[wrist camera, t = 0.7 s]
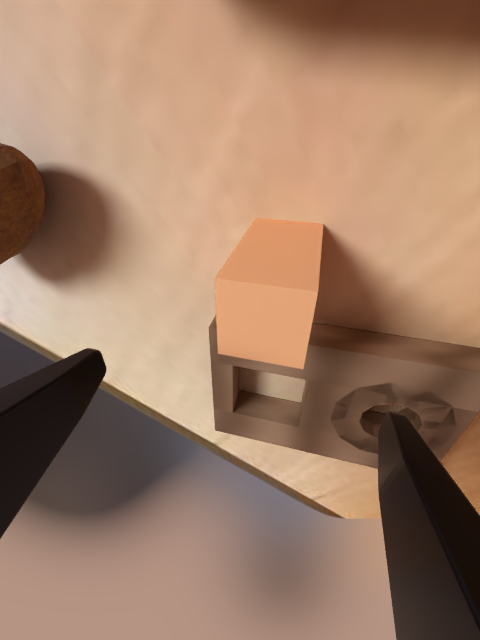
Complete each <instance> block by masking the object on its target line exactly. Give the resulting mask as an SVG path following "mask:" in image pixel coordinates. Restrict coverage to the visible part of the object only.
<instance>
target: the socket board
mask: <svg viewBox="0 0 480 640" xmlns="http://www.w3.org/2000/svg"><path fill="white" fill-rule="evenodd" d="M209 340H210V355H211V371H212V387H213V403H214V418H215V430H216V431H220V432H225V433H229V434H233V435H237V436H242V437H246V438H250V439H254V440H259V441H263V442H267V443H271V444H276V445H280V446H284V447H288V448H292V449H297V450H301V451H305V452H309V453H314V454H318V455H322V456H326V457H331V458H335V459H339V460H343V461H348V462H352V463H356V464H360V465H365V466H369V467H373V468H377V469H378V432H379V428H380V426H381V424H382V422H383V420H384V418H385V416H386V414H383V413H378V412H373V411H370V410H368V409H370V408H371V407H373V406H378V405H386V404H394V405H399V406H404V407H408V408H406V409H404V410H402V411H400V412H396V413H401V414H404V415H405V416H407V418H408V419H409V420H410V422H411V423H412V424H413V426H414V427H415V428H416V430H417V431H418V432H419V434H420V435H421V437H422V438H423V439H424V441H425V442H426V443H427V445H428V446H429V447H430V449H431V450H432V451H433V453H434V454H435V456H436V457H437V458H438V460H439V461H441V460H442V459H443V457H444V456H445V455H446V453H447V452H448V451H449V450H450V448H451V447H452V446H453V444H454V443H455V442H456V440H457V439H458V438H459V437H460V435H461V434H462V433H463V431H464V430H465V429H466V427H467V426H468V425H469V424H470V422H471V421H472V420H473V418H474V417H475V416H476V414H477V413H478V412H479V411H480V348H475V347H468V346H462V345H455V344H449V343H442V342H436V341H429V340H423V339H416V338H409V337H403V336H396V335H390V334H383V333H377V332H370V331H364V330H357V329H350V328H344V327H337V326H331V325H324V324H318V323H312V327H311V332H310V337H309V342H308V347H307V353H306V358H305V363H304V368H303V369H299V368H293V367H288V366H282V365H277V364H271V363H266V362H261V361H255V360H250V359H244V358H239V357H233V356H228V355H222V354H218V346H217V323H216V316H215V318H214V319H213V321H212V323H211V325H210V327H209ZM240 367H243V368H248V369H253V370H259V371H264V372H269V373H274V374H280V375H285V376H290V377H295V378H301V379H306V382H305V387H304V392H303V397H302V402H301V403H298V402H293V401H288V400H283V399H278V398H273V397H269V396H264V395H259V394H254V393H249V392H244V391H240Z"/></svg>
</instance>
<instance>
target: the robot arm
mask: <svg viewBox="0 0 480 640" xmlns="http://www.w3.org/2000/svg"><path fill="white" fill-rule="evenodd" d="M105 373H106V365H105V362H104V359H103V357H102V354H101V352H100V351H99V350H96V349H91V348H87V349H84V350H82V351H80V352H78V353H75V354H73V355H71V356H69V357H67V358H65V359H63V360H60V361H58V362H56V363H54V364H52V365H50V366H47V367H45V368H43V369H41V370H39V371H37V372H35V373H32V374H30V375H28V376H26V377H24V378H22V379H20V380H17V381H15V382H13V383H11V384H9V385H7V386H5V387H2V388H0V538H1V537H2V535H3V534H4V532H5V531H6V530H7V528H8V527H9V525H10V523H11V522H12V521H13V519H14V518H15V516H16V515H17V513H18V512H19V510H20V509H21V507H22V506H23V504H24V503H25V501H26V500H27V498H28V497H29V495H30V494H31V492H32V491H33V489H34V488H35V486H36V485H37V483H38V482H39V480H40V479H41V477H42V476H43V474H44V473H45V471H46V470H47V468H48V467H49V465H50V464H51V462H52V461H53V459H54V458H55V457H56V455H57V453H58V452H59V451H60V449H61V447H62V446H63V445H64V443H65V442H66V440H67V439H68V437H69V436H70V434H71V432H72V431H73V430H74V428H75V427H76V425H77V424H78V422H79V421H80V419H81V418H82V416H83V414H84V413H85V411H86V409H87V407H88V406H89V404H90V402H91V400H92V398H93V396H94V394H95V393H96V391H97V389H98V387H99V385H100V383H101V381H102V380H103V378H104V376H105ZM378 490H379V501H380V509H381V517H382V526H383V534H384V541H385V550H386V558H387V566H388V574H389V582H390V590H391V598H392V607H393V614H394V623H395V631H396V639H397V640H480V515H479V514H478V513H477V511H476V510H475V508H474V507H473V506H472V504H471V503H470V502H469V500H468V499H467V498H466V496H465V495H464V494H463V492H462V491H461V489H460V488H459V487H458V485H457V484H456V483H455V481H454V480H453V479H452V477H451V476H450V475H449V473H448V472H447V470H446V469H445V468H444V466H443V465H442V464H441V462H440V461H439V460H438V458H437V457H436V456H435V454H434V453H433V451H432V450H431V449H430V447H429V446H428V445H427V443H426V442H425V441H424V439H423V438H422V437H421V435H420V434H419V432H418V431H417V430H416V428H415V427H414V426H413V424H412V423H411V422H410V420H409V419H408V418H407V416H405V415H404V414H401V413H396V412H388V413H387V414H386V416H385V418H384V420H383V422H382V424H381V426H380V428H379V432H378Z"/></svg>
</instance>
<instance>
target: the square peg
mask: <svg viewBox="0 0 480 640" xmlns="http://www.w3.org/2000/svg"><path fill="white" fill-rule="evenodd" d="M322 236H323V224H317V223H306V222H295V221H284V220H272V219H261V218H256V219H255V220H254V221H253V223H252V224H251V226H250V227H249V229H248V230H247V232H246V233H245V235H244V236H243V238H242V239H241V240H240V242H239V243H238V245H237V246H236V248H235V249H234V251H233V252H232V254H231V255H230V256H229V258H228V259H227V261H226V262H225V264H224V265H223V267H222V268H221V270H220V271H219V272H218V274H217V275H216V277H215V300H216V323H217V346H218V354H222V355H228V356H233V357H239V358H244V359H250V360H255V361H261V362H266V363H271V364H277V365H282V366H288V367H293V368H299V369H303V368H304V363H305V358H306V353H307V347H308V342H309V337H310V332H311V327H312V321H313V316H314V311H315V306H316V300H317V295H318V287H319V274H320V261H321V248H322Z"/></svg>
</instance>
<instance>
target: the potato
mask: <svg viewBox="0 0 480 640" xmlns="http://www.w3.org/2000/svg"><path fill="white" fill-rule="evenodd" d="M45 201H46V199H45V188H44V184H43V181H42V177H41V175H40V174H39V172H38V170H37V168H36V166H35V165H34V163H33V162H32V161H31V160H30V159H29V158H28V157H27V156H25V155H24V154H23V153H22V152H21V151H19V150H17V149H16V148H14V147H12V146H8V145H4V144H1V143H0V264H2V263H3V262H5V261H6V260H8V259H9V258H11V257H13V256H15V255H16V254H18V253H20V252H21V251H22V250H23V249H24V248H25V247H26V246H27V245H28V244H29V242H30V241H31V239H32V238H33V236H34V235H35V233H36V231H37V230H38V228H39V226H40V223H41V221H42V218H43V214H44V210H45Z"/></svg>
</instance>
